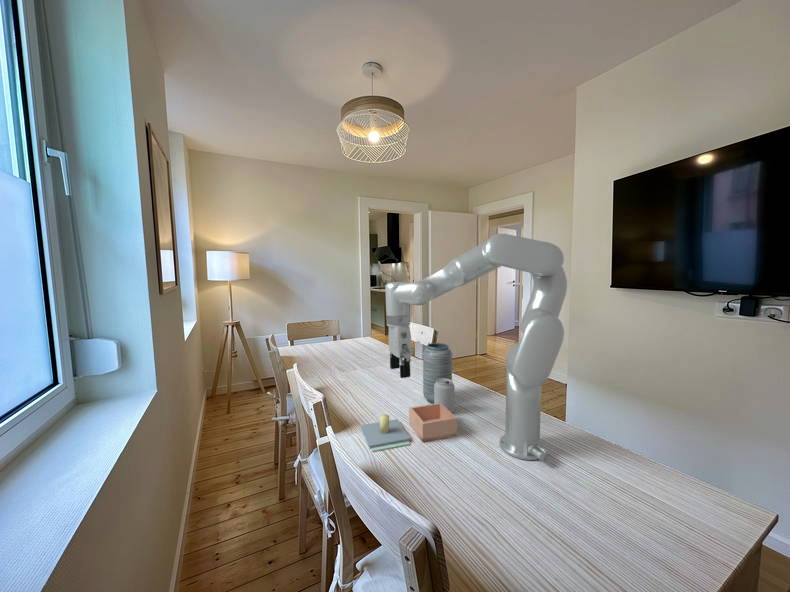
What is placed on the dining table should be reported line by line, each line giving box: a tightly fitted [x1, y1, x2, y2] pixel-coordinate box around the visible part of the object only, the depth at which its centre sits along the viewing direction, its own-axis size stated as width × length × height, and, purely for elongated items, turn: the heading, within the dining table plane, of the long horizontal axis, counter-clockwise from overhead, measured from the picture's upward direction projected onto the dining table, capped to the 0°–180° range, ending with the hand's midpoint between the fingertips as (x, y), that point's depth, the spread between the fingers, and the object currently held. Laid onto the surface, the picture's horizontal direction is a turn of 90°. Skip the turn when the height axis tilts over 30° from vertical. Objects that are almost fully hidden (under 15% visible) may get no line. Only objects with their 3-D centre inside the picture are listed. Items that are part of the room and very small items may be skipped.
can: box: [434, 378, 455, 414], centre depth 115 cm, size 8×8×12 cm
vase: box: [422, 342, 453, 404], centre depth 125 cm, size 12×12×23 cm
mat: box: [369, 422, 412, 453], centre depth 99 cm, size 16×12×1 cm
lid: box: [360, 413, 412, 449], centre depth 99 cm, size 13×13×6 cm
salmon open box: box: [408, 403, 458, 443], centre depth 102 cm, size 12×12×6 cm
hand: (399, 372), depth 100 cm, fingers open, 9 cm apart
